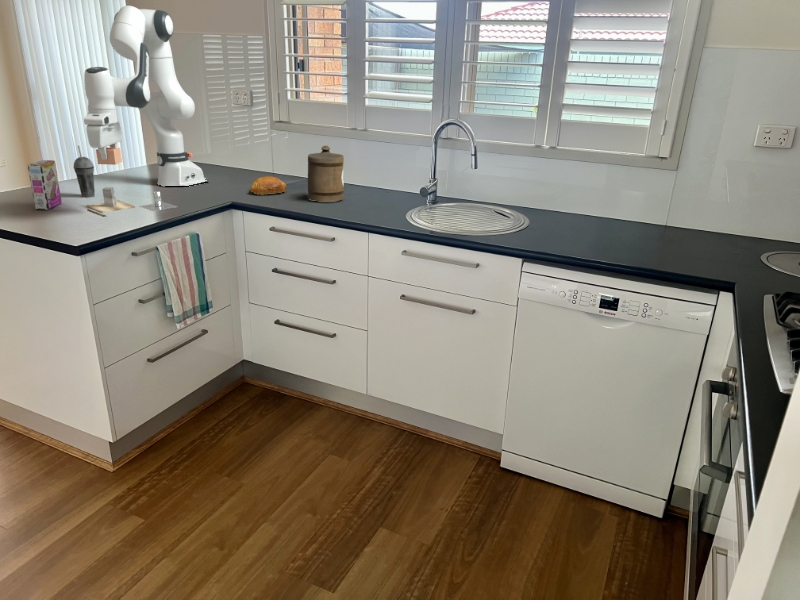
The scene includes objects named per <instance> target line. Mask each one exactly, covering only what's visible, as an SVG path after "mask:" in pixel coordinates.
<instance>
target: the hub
mask: <svg viewBox="0 0 800 600" xmlns="http://www.w3.org/2000/svg"><path fill="white" fill-rule="evenodd" d="M101 189H102V194H103V195H102V196H103V202H101V203H93V204H87V205H86V211H87V212H89V213H92V214H94V215H97V216H101V217H102V218H104V217H107V215H105V214H104V213H110V212H116V211H121V210H123V211H124V210H128V209H134V208H136V206H135V205H132V204H130V203H127V202H124V201H121V200H117V199H116V193H115V191H116V190H115V187H111V186H105V187H103V188H101ZM102 213H103V214H102Z"/></svg>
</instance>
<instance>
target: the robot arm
mask: <svg viewBox="0 0 800 600" xmlns="http://www.w3.org/2000/svg"><path fill="white" fill-rule="evenodd" d="M111 25H112V26H111V28H110V32H109V42H110V45H111V47H112V49H113V50H114V51H115V53H116V54H118V55H119V56H121V57H123V58H124V59H127V60H130V61H132V62H134V75H133V76H132V77H114V76H112V75H111V72H110V70H109V68H107V67H105V66H93V67H92V66H91V67H89V68H88V67H87V69H85V70H84V74H83V75H84V91H85V96H86V99H87V103H88V104H87V111H88V112H87V114H86V115H85V117H84V118H83V123H84V125H86V127H85V128H86V135H87V140H88V144H89V146H90V148H92V149H98V150H99V152H100V154H101V159H102V160H106V159H108V154H107V153H106V147H108V146H109V148H118V147H117V146H118V145H117V144H118V143H120V142H122V141H123V133H122V129H121V128H122V127H121V124H120V122H119V120H118V113H117V107H131V108H135V109H136V108H137V109H138V111H139V113H140V114H141V115H143V116H144V117H145V118H146V119H147V121H148V122H149V124H150V126H151V127H152V129H153V132H154V136H155V141H156V150H157V151H156V159H157V165H158V177H157V178H158V180H157V184H158V186H159V185H161V187H165V186H189V185H193V184H197V183H201V182H205V181H207V180H205V179H206V178H207V177H205V176H204V171H203V169H202V168H201V167H200V166H198V165H197V164H196V163H194V162H192V161H191V160H190V159H189V158H193V152H186V151H185V145H184V135H183V132H182V131H180V129H178V128H177V127H175V125H174V123H173V122H172V120H173V121H174V120H175V121H184V120H189V119H191V118H192V117H193V116H194V114H195V111H196V110H195V109H196V105H195V102H194V100H193V99H192V97H191V96H190V95H188V94H187V93H186V92H185V91H184V89H183V87H182V86H181V84H180V83H179V82H180V81H178V77H177V75H176V74H177V73H176V70H175V64H174V58H173V53H172V47H171V43H170V40H169V39H171V38H172V36H173V35H174V22H173V20H172V17H171V15H170V14H169V13H168V12H167V11H165V10H161V9H149V8H148V9H147V8H140V9H139V8H137V7H135V6H133V5H124V6H122V7H120V9H119V10H118V11H117V12H116V14H115V15H114V17H113V22H112V24H111ZM150 81H151V82H152V83H153V84H154V85H156V87H157V88H158V90H159V91H151V87H150ZM157 184H156V185H157ZM189 187H190V186H189Z"/></svg>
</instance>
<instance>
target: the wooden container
mask: <svg viewBox="0 0 800 600" xmlns="http://www.w3.org/2000/svg"><path fill="white" fill-rule="evenodd" d="M330 150H331V148H330V147H329V146H328V145H323V146H321V152H316V153H315V152H314V153H309V154H308V155H307V199H308V198H309V199H311V200H316V201H335V200H339V199H342V198H343V199H344V189H345V188H344V185H345V184H344V183H345V182H344V179H345V178H344V162H345V161H344V159H345V158H344V155H343V154H340V153H335V152H334V153H331V151H330ZM309 199H308V200H309Z"/></svg>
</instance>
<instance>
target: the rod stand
mask: <svg viewBox="0 0 800 600" xmlns="http://www.w3.org/2000/svg"><path fill="white" fill-rule="evenodd" d="M161 195H162V194H161V191H159V190H154V191H153V199H154V200H153V202H154V203H151V204H145V205H138V207H140V208H142V209H146V210H149V211H152V212H156V211H162V210H167V209H168V210H169V209H173V208H178V206H177V205H174V204H170V203H168V202H165V201H164V202H163V201H162V196H161Z"/></svg>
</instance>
